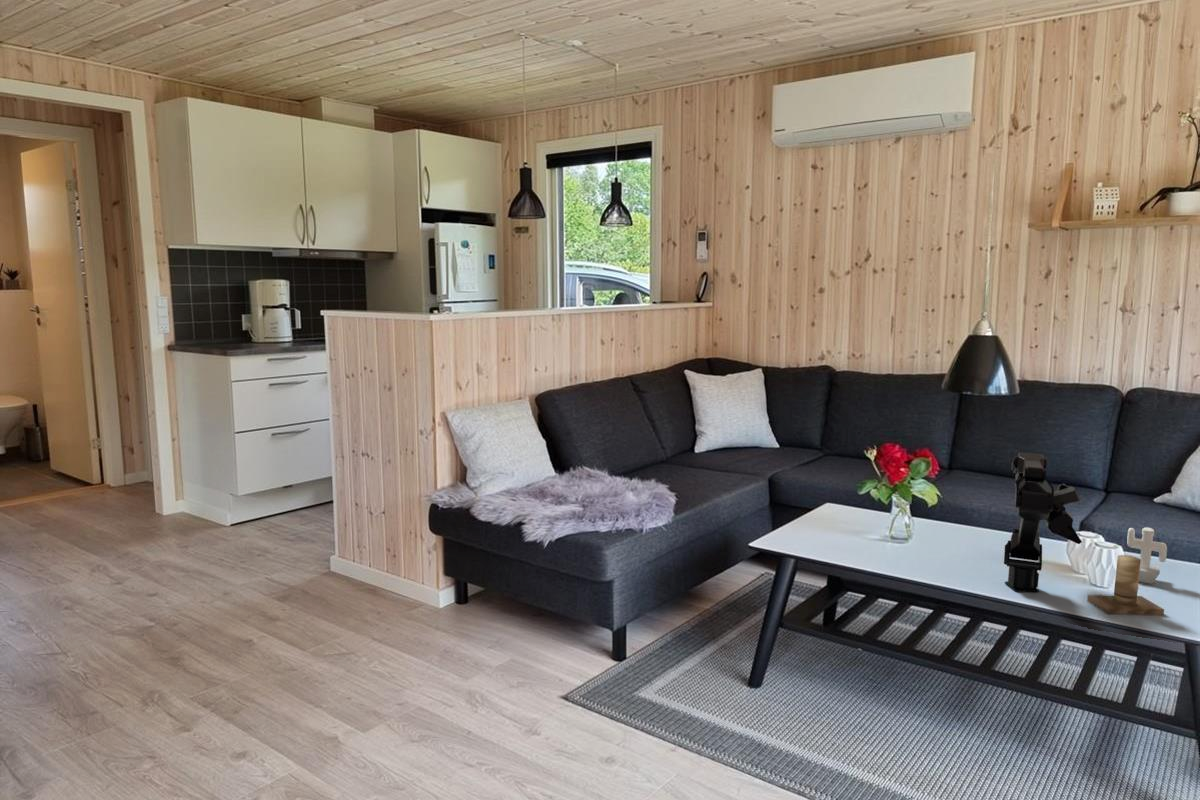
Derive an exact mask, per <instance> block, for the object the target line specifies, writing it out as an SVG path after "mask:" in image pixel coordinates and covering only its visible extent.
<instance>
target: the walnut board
mask: <svg viewBox="0 0 1200 800" xmlns="http://www.w3.org/2000/svg"><path fill="white" fill-rule="evenodd" d="M1113 598H1114V595H1105V594H1104V595H1101V594H1100V595H1098V594H1088V595H1087V602H1089V603H1091V605H1093V604H1094V605H1093V606H1095V607H1096V606H1097V607H1096V608H1098V609H1099V610H1100V611H1102V612H1104V613H1105V614H1107V615H1129V616H1130V615H1133V616H1135V615H1136V616H1137V615H1138V616H1139V615H1140V616H1142V615H1144V616H1164V614H1165V609H1164V608H1163V607H1161V606H1159V605H1157V604H1155V602H1152V601H1150V600H1149V599H1147V598H1145V597H1144V596H1142V595H1137V602H1136V605H1134V606H1127V605H1121V604H1118V603H1116V602H1114V601H1113Z"/></svg>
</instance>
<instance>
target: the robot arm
mask: <svg viewBox="0 0 1200 800" xmlns="http://www.w3.org/2000/svg"><path fill="white" fill-rule="evenodd" d="M1011 471H1012V472H1013V474H1015V476H1014V477H1015V480H1014V490H1015V493H1014V494H1015V495H1014V507H1015V508H1017V516H1019V517H1020V518H1021V519H1020V525H1019V529H1016V528H1015V529H1013V530H1012V534H1011V535H1010V540H1007V542H1006V544H1005V545H1004V557H1003V564H1004V565H1006V567H1008V575H1007V576H1008V577H1007V578H1008V579H1007V581H1006V580H1005V581H1004V584H1005V585H1006V586H1007V587H1009V588H1011V590H1013V591H1014V592H1022V593H1023V592H1026V593H1028V592H1029V593H1032V592H1033V593H1038V592H1040V589H1039V588H1038V587H1039V578H1040V577H1039V576H1040V573H1039V572H1040V571H1042V569H1043V568H1042V567H1043V544H1041V543H1040V542H1041V537H1040V532H1039V527H1040V522H1041V521H1043V520H1044V521H1046V522H1045V525H1046V527H1047V529H1048V530H1049V531H1050V532H1051V533H1052V534H1053V535H1054V534H1055V535H1058V536H1060V537H1062V538H1064V539H1067V540H1069V541H1071V542H1072V543H1073V542H1074V543H1075V544H1078V545H1081V544H1082V543H1083V540H1082V539H1081V537H1080V536H1079V534H1078V533H1077V532H1076V530H1075V528H1074V527H1073V523H1074V518H1073V517H1072V516H1071V514H1069V512H1067V510H1066V506H1065V505H1068V504H1071V503H1077V502H1079V501H1080V497H1079V494H1078V492H1077V491H1076V488H1075V487H1074V486H1072V485H1069V486H1068V485H1066V484H1065V483H1060V484H1059V485H1058V486H1057V490H1055V489H1054V485H1052V483H1051V482H1050V481H1049V479H1048V478H1047V458H1045V456H1044V454H1041V453H1031V452H1029V453H1028V452H1018V454H1017V455H1015V456H1014V458H1013V459H1012V463H1011ZM1054 490H1055V491H1054ZM1038 571H1039V572H1038Z"/></svg>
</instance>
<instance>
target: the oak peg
mask: <svg viewBox="0 0 1200 800" xmlns="http://www.w3.org/2000/svg"><path fill="white" fill-rule="evenodd" d="M1140 564H1141V559H1140V557H1136V556H1133V555H1127V554H1126V555H1125V554H1122V555H1121V554H1120V555H1118V556H1117V560H1116V570H1115V571H1116V572H1115V579H1114V580H1115V581H1114V589H1113V596H1114V598H1113V601H1114V602H1116V603H1118V604H1121V605H1127V606H1134V605H1136V602H1137V596H1138V591H1139V573H1140Z"/></svg>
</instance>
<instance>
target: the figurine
mask: <svg viewBox="0 0 1200 800" xmlns="http://www.w3.org/2000/svg"><path fill="white" fill-rule="evenodd" d="M1135 533H1136V530H1135V528H1133V527H1129V528H1128V530H1127V538H1126V539H1127V540H1126V543H1127V546H1128V548H1132V549H1137V550H1140V557H1139V559H1141V564H1140V573H1139V582H1141V583H1146V584H1151V585H1153V583H1154V582H1155V581H1156V579H1158V577H1159V575H1161V574H1160V571H1161V566H1159V565H1153V564H1151V560H1152V559H1151V558H1152V552H1156V553H1158V560H1159V562H1161V563H1165V562H1166V561H1167V553H1168V546H1167V544H1166V543H1165V542H1161V541H1160V542H1159V541H1154V540H1153V539H1154V536H1155V530H1154V529H1153V528H1152V527H1148V526H1147V527H1143V528H1142V529H1141V535H1142V537H1141V538H1136V535H1135Z"/></svg>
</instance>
